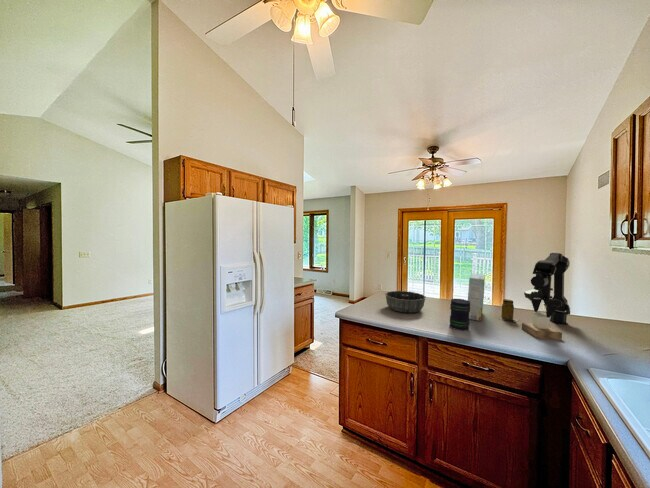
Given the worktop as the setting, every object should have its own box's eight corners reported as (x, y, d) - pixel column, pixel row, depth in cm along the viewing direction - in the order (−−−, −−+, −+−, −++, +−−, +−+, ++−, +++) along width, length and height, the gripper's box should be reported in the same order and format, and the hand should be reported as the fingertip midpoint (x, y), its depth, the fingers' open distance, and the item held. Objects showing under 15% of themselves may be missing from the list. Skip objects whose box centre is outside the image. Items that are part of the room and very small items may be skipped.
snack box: (482, 322, 156) (484, 279, 155) (465, 319, 161) (468, 277, 159) (483, 312, 175) (485, 274, 173) (468, 310, 179) (470, 272, 178)
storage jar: (446, 327, 147) (448, 300, 146) (452, 322, 154) (453, 297, 153) (466, 332, 140) (467, 304, 139) (471, 327, 147) (472, 301, 146)
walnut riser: (545, 331, 144) (545, 324, 144) (561, 340, 132) (562, 332, 132) (521, 329, 146) (522, 322, 146) (535, 338, 134) (535, 330, 134)
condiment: (502, 316, 167) (503, 298, 166) (518, 320, 161) (519, 301, 160) (498, 318, 163) (499, 299, 162) (514, 322, 156) (516, 303, 155)
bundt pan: (379, 304, 190) (380, 290, 190) (414, 303, 193) (414, 290, 193) (392, 316, 164) (393, 300, 163) (432, 315, 167) (433, 299, 166)
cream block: (542, 325, 141) (542, 312, 141) (549, 329, 136) (550, 315, 136) (532, 325, 142) (532, 312, 142) (538, 328, 137) (539, 315, 136)
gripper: (516, 281, 148) (514, 308, 149) (539, 288, 129) (537, 319, 130) (537, 282, 147) (536, 309, 147) (564, 289, 128) (561, 321, 129)
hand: (541, 314), depth 139 cm, fingers open, 9 cm apart
